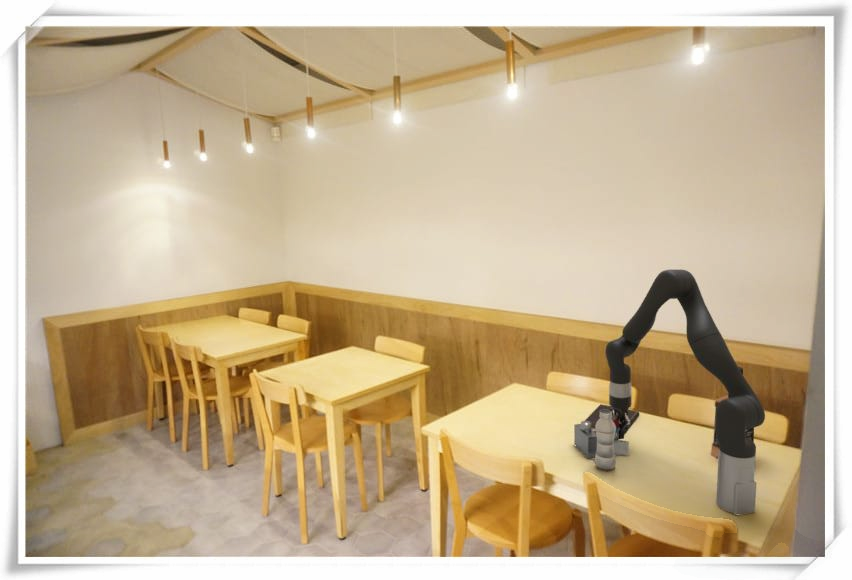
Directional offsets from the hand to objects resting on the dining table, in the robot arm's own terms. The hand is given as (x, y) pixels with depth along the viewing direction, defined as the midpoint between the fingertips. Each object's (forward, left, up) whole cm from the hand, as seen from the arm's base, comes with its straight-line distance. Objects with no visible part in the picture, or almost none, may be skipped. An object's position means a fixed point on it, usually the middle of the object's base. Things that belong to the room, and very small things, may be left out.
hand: (620, 438), depth 199 cm
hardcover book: (+20, -7, -4) cm, 21 cm away
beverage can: (0, +4, -3) cm, 6 cm away
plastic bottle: (-13, +12, -3) cm, 18 cm away
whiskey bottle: (-17, -32, -3) cm, 36 cm away
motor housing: (0, +8, -3) cm, 8 cm away
